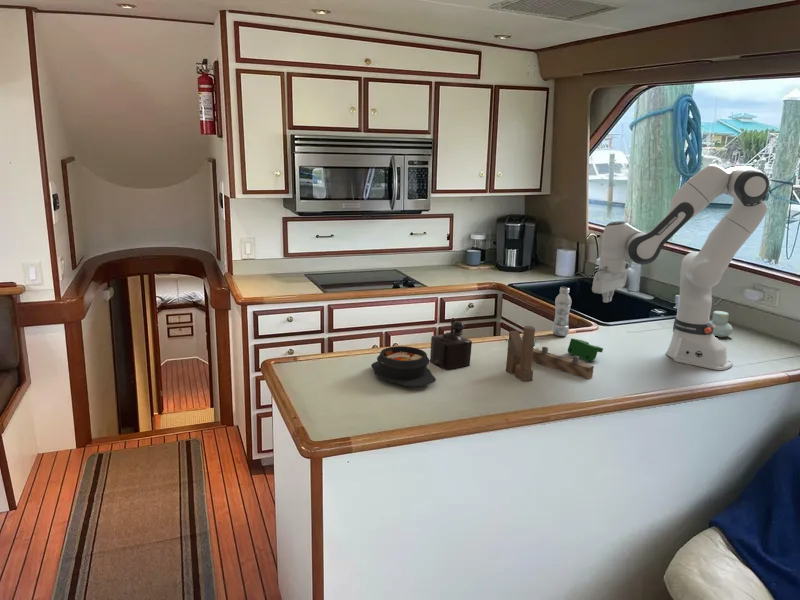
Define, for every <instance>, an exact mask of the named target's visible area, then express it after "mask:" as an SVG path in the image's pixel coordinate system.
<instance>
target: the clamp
mask: <svg viewBox="0 0 800 600" xmlns="http://www.w3.org/2000/svg"><path fill="white" fill-rule="evenodd" d="M569 341H570V342H569V345H568V347H567V353H568V354H569V355H572V356H579V359H581V360H584V361H586V362H590V363H591V362H594V361H595V359H597V358H596V357H597V354H598V353H603V351H604V348H603V347H601V346H597V345H593V344H589V342H588V341H585V340H582V339H576V338H571V339H570V340H569Z"/></svg>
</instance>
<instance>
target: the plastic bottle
mask: <svg viewBox="0 0 800 600" xmlns="http://www.w3.org/2000/svg"><path fill="white" fill-rule="evenodd" d="M570 290H571V289H570V287H567V286H560V288H559V294H557V295H556V297H555V299H554V300H555V301H554V303H555V304H554V305H555V306H554V307H555V309H554V310H555V311H554V312H555V313H554V320H553V324H552V326H551V327H552V328H551V331H552V334H553V335H554V336H556V337H566V336H567V335H568V334H569V331H570V330H569V329H570V328H569V327H570V326H569V318H570V317H569V316H570V315H569V314H570V310H571V306H572V298H571V296H570V294H569V293H570Z"/></svg>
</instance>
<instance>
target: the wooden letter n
mask: <svg viewBox="0 0 800 600" xmlns="http://www.w3.org/2000/svg"><path fill="white" fill-rule="evenodd" d="M535 334H536V327H534V326H532V325H531V326H530V325H526V326H524V327H523V333H522V336H521V334H520V332H519V330H510V331H508V336H509V339H508V342H507V354H506V364H505V371H506V373H509V374H510V375H514V376H513V377H515V378H517V379H518V380H520V381H521V382H524V383H525V382H531V381H533V377H534V370H533V369H532V364H533V362H532V356H533V345H534V339H535ZM521 337H523V342H522V339H521Z"/></svg>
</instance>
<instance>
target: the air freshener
mask: <svg viewBox="0 0 800 600" xmlns="http://www.w3.org/2000/svg"><path fill="white" fill-rule="evenodd" d="M729 315H730V314H729V312H727V311H723V310H722V311H721V310H714V311H713V313H712V318H711V320H709V323H710V324H711V325H712V326H714V325H715V327H714V329H713V333H712V334H713V335H714V336H718V337H717V338H726V337H729V336H731V335H732V334H733V332H734V328H733V326H732V325H731V324H730V323H729V317H730V316H729Z"/></svg>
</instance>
